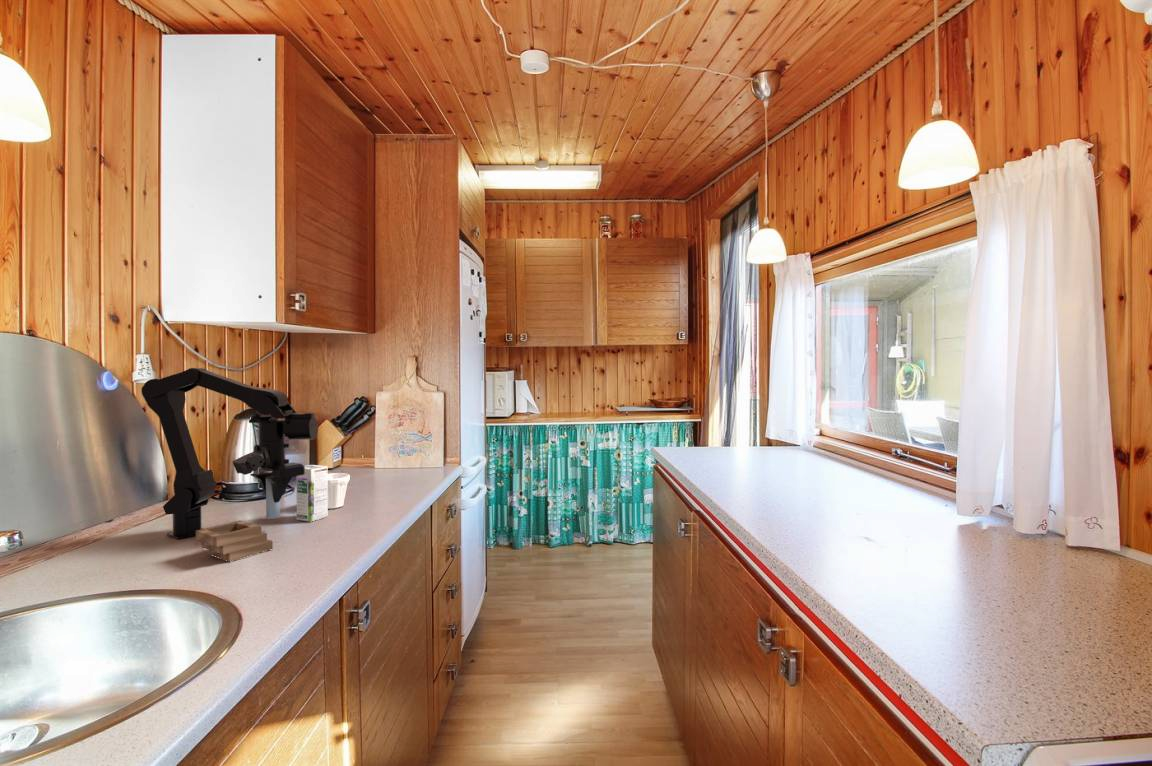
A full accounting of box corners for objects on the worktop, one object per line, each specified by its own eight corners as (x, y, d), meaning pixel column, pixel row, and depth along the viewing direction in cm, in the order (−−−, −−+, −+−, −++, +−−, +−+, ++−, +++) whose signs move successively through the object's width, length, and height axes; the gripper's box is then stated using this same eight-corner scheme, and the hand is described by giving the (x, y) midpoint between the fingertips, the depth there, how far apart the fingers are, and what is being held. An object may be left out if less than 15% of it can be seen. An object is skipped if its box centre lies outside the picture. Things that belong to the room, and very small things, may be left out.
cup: (340, 511, 148) (340, 480, 148) (306, 511, 148) (306, 479, 148) (356, 502, 158) (355, 473, 158) (323, 502, 158) (323, 473, 158)
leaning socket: (196, 558, 111) (195, 530, 111) (251, 542, 121) (250, 517, 121) (217, 566, 107) (216, 537, 107) (272, 549, 117) (272, 523, 117)
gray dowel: (263, 517, 129) (263, 478, 129) (275, 514, 132) (275, 476, 132) (270, 519, 128) (269, 479, 128) (282, 516, 131) (281, 477, 130)
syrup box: (295, 520, 140) (294, 467, 139) (314, 514, 145) (313, 463, 145) (310, 522, 138) (310, 468, 137) (329, 516, 143) (328, 465, 143)
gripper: (217, 441, 127) (218, 503, 128) (259, 447, 118) (260, 514, 118) (263, 436, 137) (264, 494, 137) (305, 441, 127) (306, 503, 128)
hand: (272, 501), depth 130 cm, fingers closed on gray dowel, 3 cm apart
